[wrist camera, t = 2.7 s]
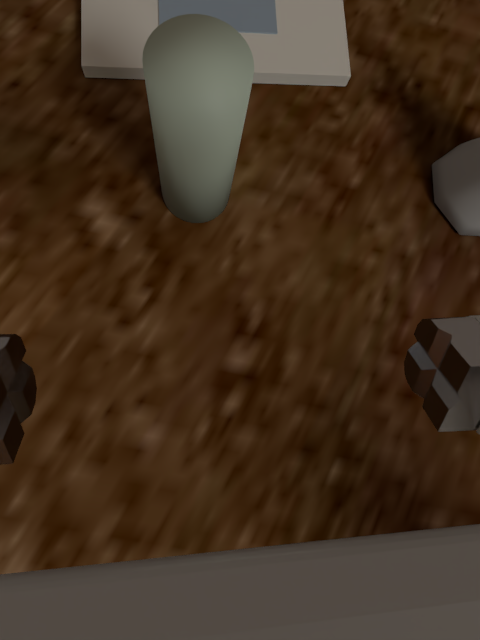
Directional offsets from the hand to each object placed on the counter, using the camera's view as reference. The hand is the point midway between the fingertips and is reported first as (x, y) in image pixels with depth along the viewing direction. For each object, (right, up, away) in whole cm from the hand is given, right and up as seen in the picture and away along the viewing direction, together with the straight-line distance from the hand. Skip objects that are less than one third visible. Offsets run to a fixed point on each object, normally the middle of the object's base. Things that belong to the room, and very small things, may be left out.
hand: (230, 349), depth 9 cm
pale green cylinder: (-3, +9, +18) cm, 21 cm away
